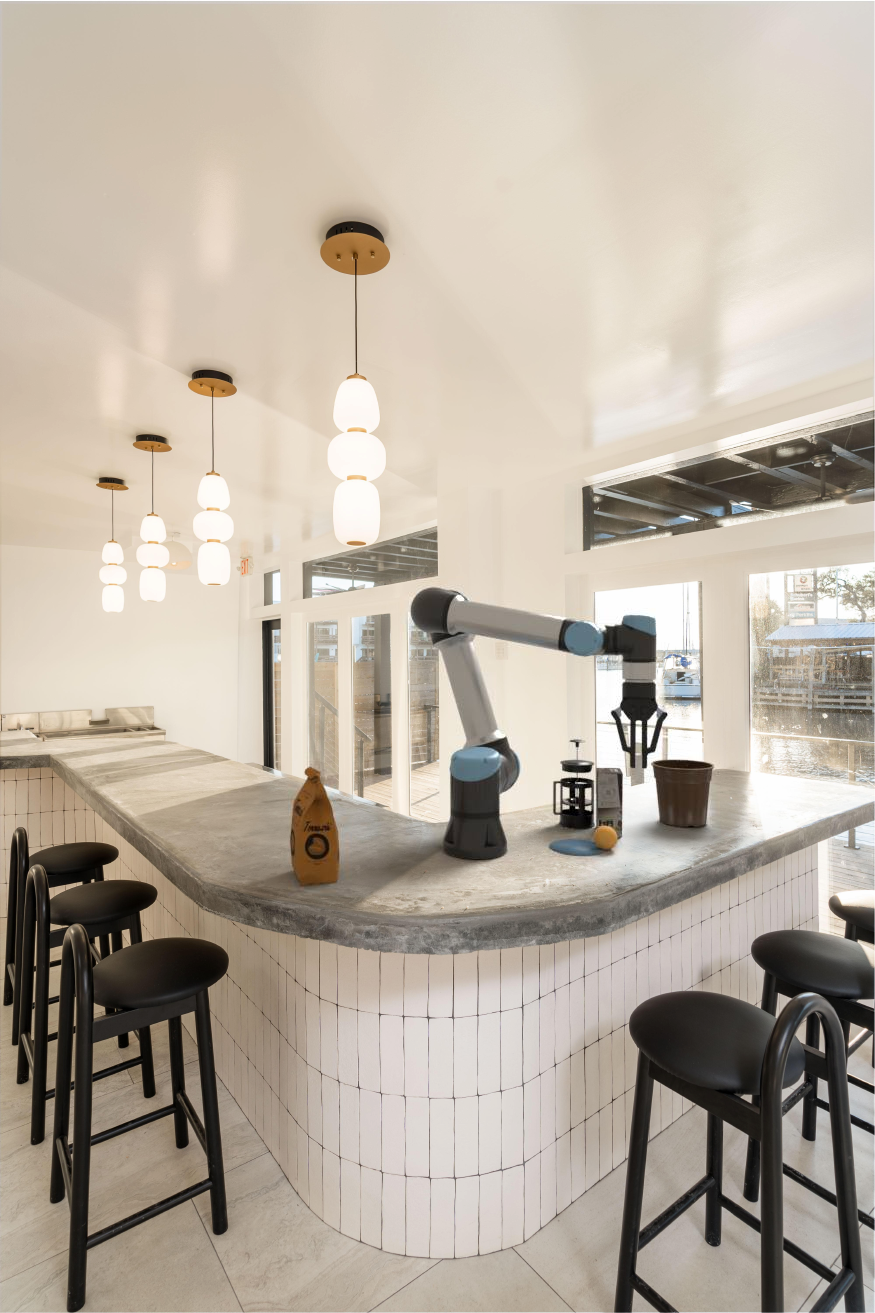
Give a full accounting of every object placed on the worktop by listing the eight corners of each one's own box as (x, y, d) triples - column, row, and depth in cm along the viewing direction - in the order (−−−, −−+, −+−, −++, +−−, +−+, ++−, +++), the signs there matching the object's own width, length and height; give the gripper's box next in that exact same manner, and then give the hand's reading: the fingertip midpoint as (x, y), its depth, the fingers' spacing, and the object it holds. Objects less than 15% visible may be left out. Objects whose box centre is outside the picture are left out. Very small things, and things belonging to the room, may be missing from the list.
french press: (590, 819, 185) (591, 737, 185) (602, 829, 176) (602, 741, 176) (549, 820, 184) (549, 737, 184) (558, 829, 175) (558, 742, 175)
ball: (620, 835, 154) (611, 856, 154) (621, 830, 159) (612, 851, 160) (597, 824, 156) (588, 845, 156) (600, 819, 161) (591, 840, 161)
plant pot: (642, 824, 181) (643, 764, 181) (660, 812, 194) (660, 757, 194) (705, 833, 172) (706, 771, 172) (719, 820, 185) (720, 762, 185)
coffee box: (623, 837, 168) (623, 773, 168) (596, 836, 169) (597, 772, 169) (620, 828, 177) (620, 767, 176) (595, 827, 178) (595, 766, 178)
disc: (546, 852, 155) (546, 852, 155) (552, 837, 167) (552, 837, 167) (604, 857, 151) (604, 856, 151) (605, 842, 164) (605, 841, 164)
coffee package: (291, 888, 131) (291, 777, 131) (289, 868, 143) (289, 766, 143) (342, 884, 134) (342, 775, 134) (335, 865, 146) (335, 764, 146)
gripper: (667, 680, 157) (667, 780, 157) (610, 680, 161) (610, 777, 161) (669, 682, 150) (668, 787, 150) (609, 681, 153) (609, 783, 154)
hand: (638, 782), depth 155 cm, fingers closed
